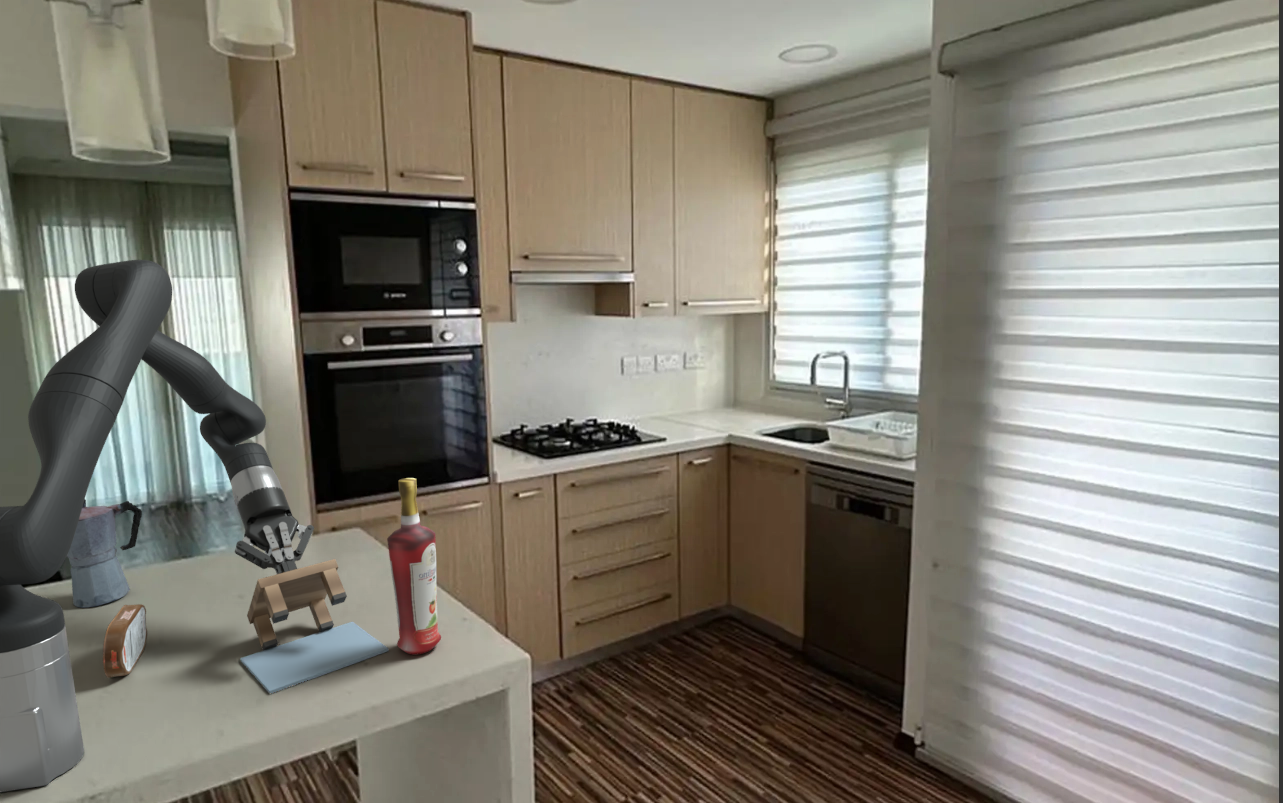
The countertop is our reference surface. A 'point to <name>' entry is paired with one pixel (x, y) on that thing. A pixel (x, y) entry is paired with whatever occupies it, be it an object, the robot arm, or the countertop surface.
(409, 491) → the liquor
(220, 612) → the countertop surface
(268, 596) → the wooden board with legs
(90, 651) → the countertop surface
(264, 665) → the mat
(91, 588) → the moka pot
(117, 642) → the tin
